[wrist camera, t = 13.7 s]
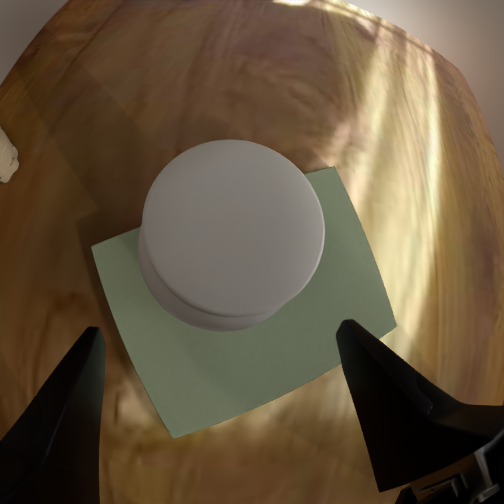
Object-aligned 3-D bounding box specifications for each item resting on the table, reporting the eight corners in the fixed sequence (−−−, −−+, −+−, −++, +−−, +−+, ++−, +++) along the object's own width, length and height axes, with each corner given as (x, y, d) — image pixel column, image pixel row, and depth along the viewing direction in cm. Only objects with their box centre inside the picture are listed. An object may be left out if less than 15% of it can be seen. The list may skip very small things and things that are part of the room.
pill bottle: (274, 276, 18) (386, 243, 7) (202, 337, 17) (224, 401, 6) (216, 204, 18) (254, 88, 7) (142, 261, 17) (71, 201, 6)
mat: (173, 435, 15) (172, 439, 15) (93, 247, 16) (90, 246, 16) (392, 326, 20) (397, 326, 20) (331, 168, 21) (334, 165, 21)
